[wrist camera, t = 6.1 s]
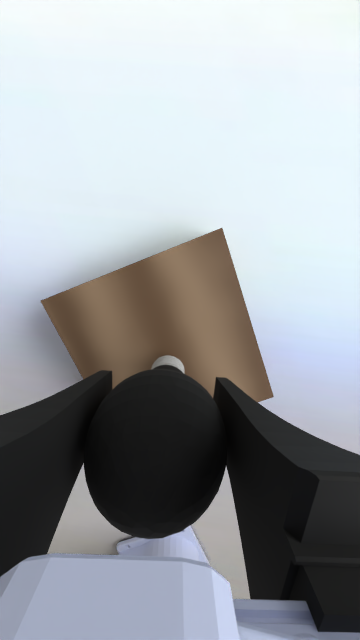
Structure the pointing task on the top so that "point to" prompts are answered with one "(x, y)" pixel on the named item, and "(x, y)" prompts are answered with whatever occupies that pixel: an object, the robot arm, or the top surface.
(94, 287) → the walnut plinth
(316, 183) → the top surface
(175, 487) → the light bulb
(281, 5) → the top surface
